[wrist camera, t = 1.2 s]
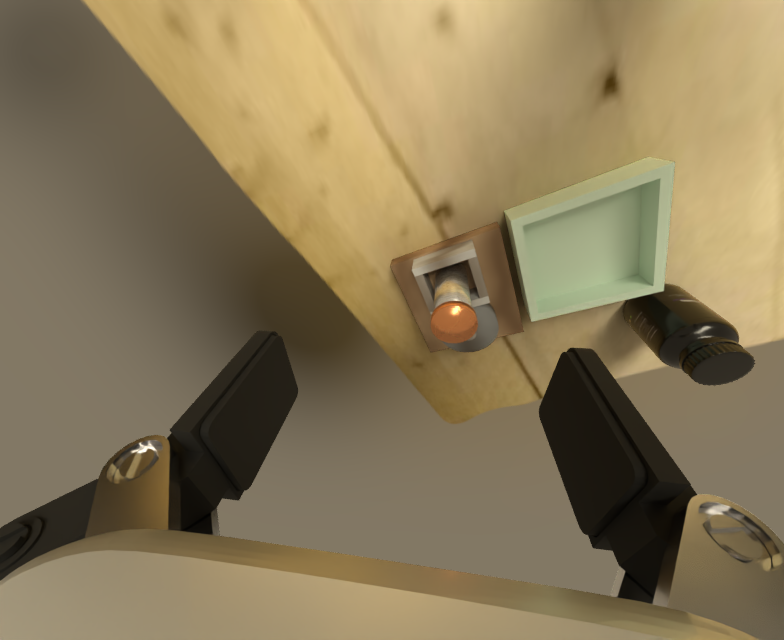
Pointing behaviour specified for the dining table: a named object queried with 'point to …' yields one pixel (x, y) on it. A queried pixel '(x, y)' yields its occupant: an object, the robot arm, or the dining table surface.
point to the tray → (594, 240)
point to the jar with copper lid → (453, 306)
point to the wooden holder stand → (485, 283)
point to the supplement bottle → (689, 336)
